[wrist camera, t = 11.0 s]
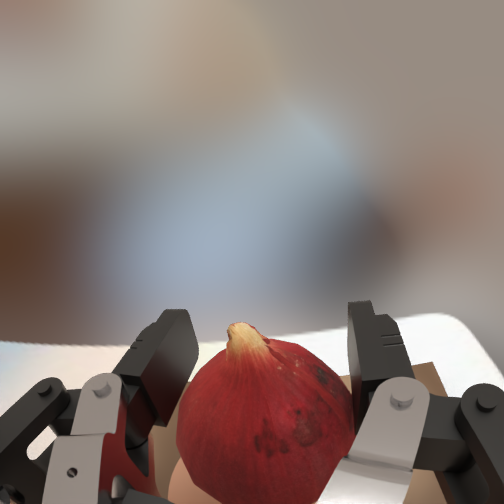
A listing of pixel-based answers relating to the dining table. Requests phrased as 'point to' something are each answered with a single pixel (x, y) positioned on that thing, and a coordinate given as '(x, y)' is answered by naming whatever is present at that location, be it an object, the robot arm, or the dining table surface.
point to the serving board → (416, 500)
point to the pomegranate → (264, 422)
